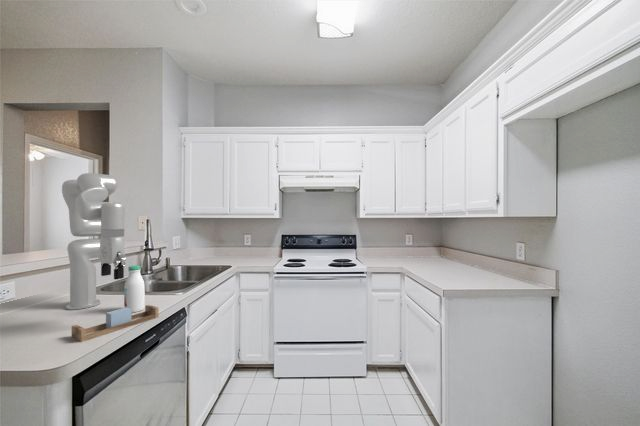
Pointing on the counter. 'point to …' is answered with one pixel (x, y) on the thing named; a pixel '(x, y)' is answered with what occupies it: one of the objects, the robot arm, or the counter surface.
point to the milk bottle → (134, 290)
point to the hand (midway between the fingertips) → (112, 276)
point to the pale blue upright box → (118, 317)
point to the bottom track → (81, 332)
